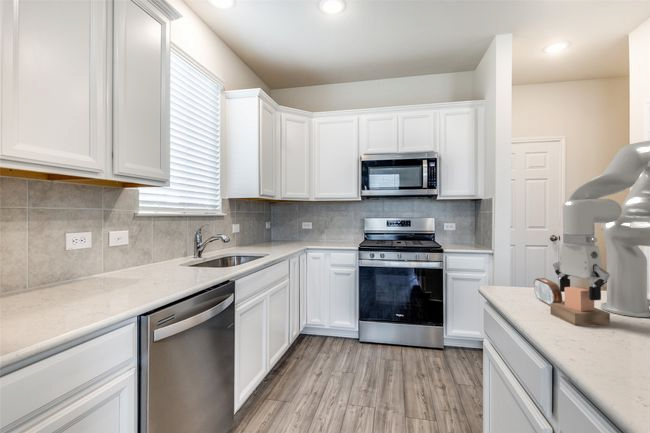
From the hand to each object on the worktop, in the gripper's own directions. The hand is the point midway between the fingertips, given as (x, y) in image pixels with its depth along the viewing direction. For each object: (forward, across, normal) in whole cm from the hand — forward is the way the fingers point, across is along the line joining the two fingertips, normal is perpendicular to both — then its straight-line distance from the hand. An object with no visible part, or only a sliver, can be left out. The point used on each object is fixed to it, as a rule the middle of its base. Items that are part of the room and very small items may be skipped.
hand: (579, 295), depth 94 cm
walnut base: (+8, 0, 0) cm, 8 cm away
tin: (+8, +17, -5) cm, 19 cm away
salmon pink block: (+4, 0, 0) cm, 4 cm away
